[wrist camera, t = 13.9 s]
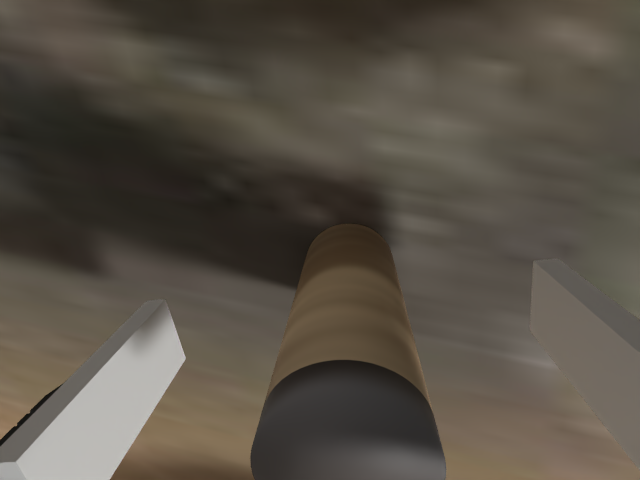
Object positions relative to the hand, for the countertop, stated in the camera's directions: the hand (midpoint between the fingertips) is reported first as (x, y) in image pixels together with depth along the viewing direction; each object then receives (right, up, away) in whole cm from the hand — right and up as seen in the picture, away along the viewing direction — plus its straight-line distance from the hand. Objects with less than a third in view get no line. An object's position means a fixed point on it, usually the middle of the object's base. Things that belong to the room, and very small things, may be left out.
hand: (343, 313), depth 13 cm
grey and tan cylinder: (0, +2, +4) cm, 4 cm away
